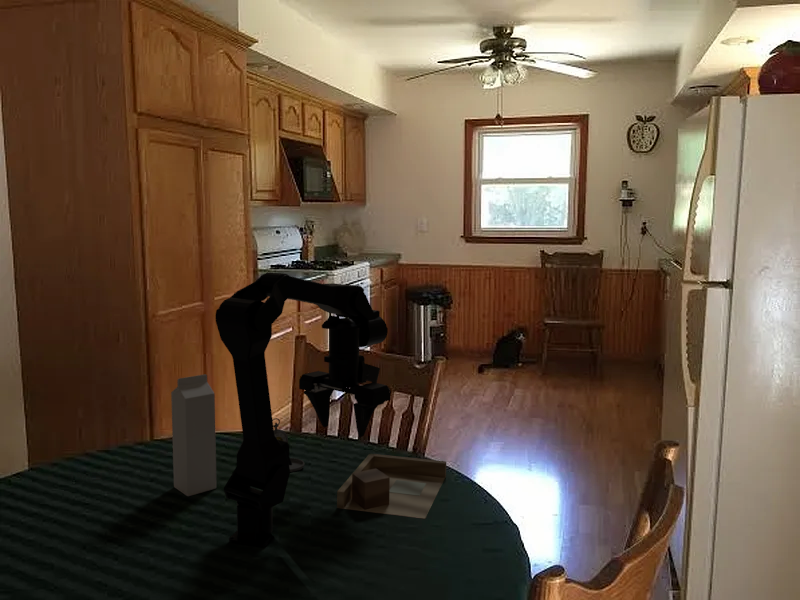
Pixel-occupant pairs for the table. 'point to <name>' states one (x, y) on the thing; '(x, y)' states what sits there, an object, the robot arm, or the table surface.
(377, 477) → the walnut block
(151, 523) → the table surface
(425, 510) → the board
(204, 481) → the milk
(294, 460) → the pocket watch
